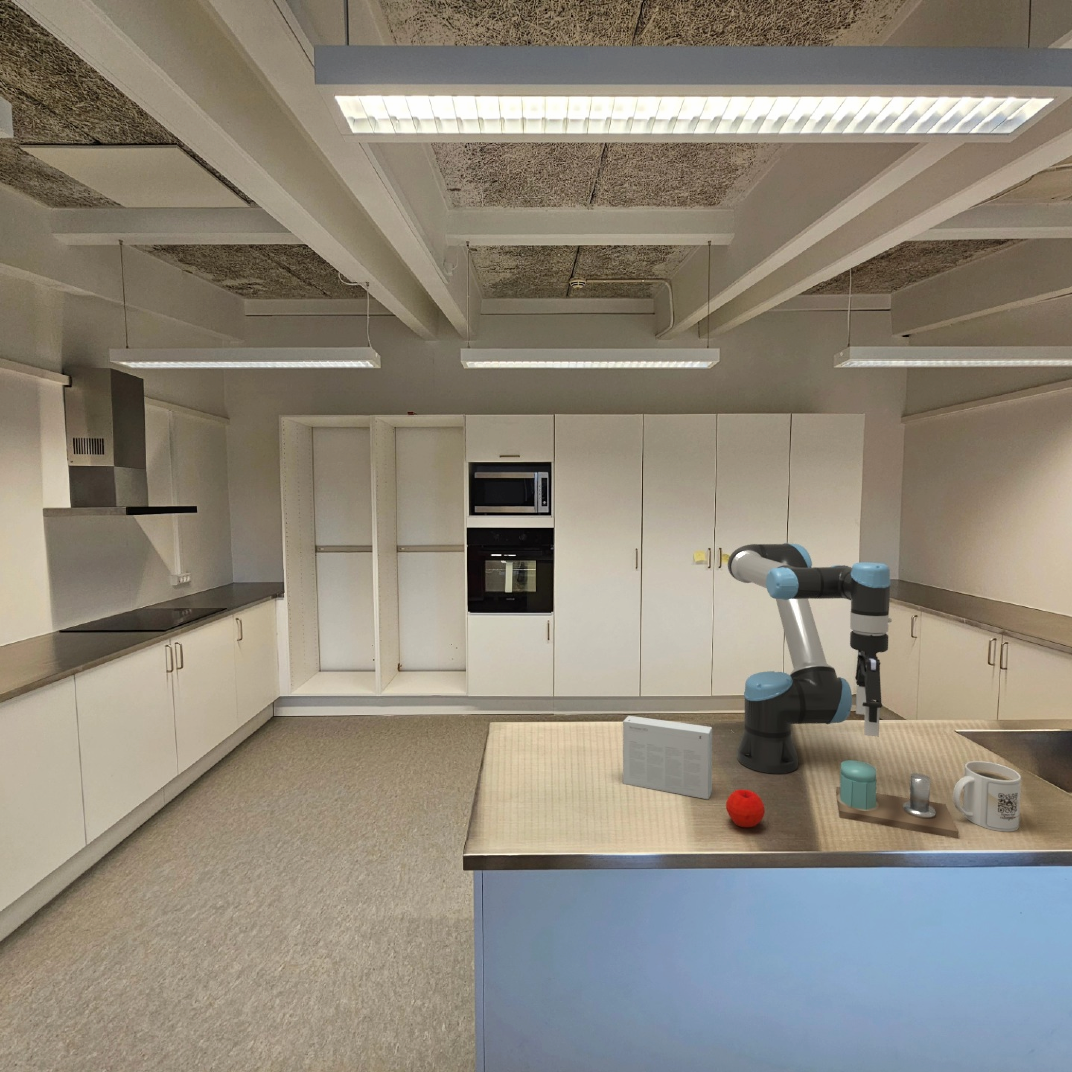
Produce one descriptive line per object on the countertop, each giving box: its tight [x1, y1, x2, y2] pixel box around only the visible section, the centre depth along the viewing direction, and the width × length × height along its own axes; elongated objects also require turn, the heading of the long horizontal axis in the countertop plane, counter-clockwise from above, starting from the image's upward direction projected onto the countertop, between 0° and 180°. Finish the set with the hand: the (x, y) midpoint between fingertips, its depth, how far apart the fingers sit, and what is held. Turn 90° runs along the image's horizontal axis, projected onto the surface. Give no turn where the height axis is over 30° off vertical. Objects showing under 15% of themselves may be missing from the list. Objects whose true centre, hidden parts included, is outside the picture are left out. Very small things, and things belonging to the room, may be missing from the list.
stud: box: [903, 773, 936, 819], centre depth 133 cm, size 6×6×8 cm
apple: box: [725, 789, 766, 828], centre depth 131 cm, size 8×8×7 cm
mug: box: [952, 760, 1022, 833], centre depth 132 cm, size 10×12×11 cm
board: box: [835, 786, 959, 839], centre depth 135 cm, size 22×12×2 cm, turn 67°
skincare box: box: [622, 715, 713, 800], centre depth 149 cm, size 21×5×16 cm, turn 65°
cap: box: [839, 759, 877, 810], centre depth 138 cm, size 7×7×8 cm
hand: (866, 724), depth 138 cm, fingers open, 13 cm apart
